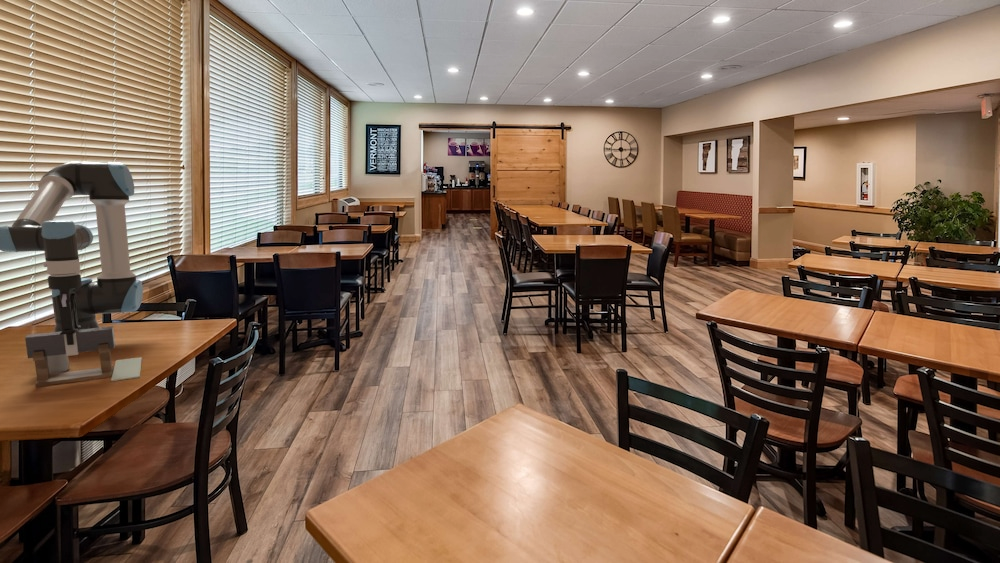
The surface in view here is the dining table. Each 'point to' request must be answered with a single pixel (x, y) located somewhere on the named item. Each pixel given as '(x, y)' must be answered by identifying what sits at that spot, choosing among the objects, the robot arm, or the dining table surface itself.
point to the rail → (56, 343)
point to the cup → (58, 363)
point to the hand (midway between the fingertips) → (73, 352)
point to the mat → (127, 369)
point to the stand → (72, 376)
